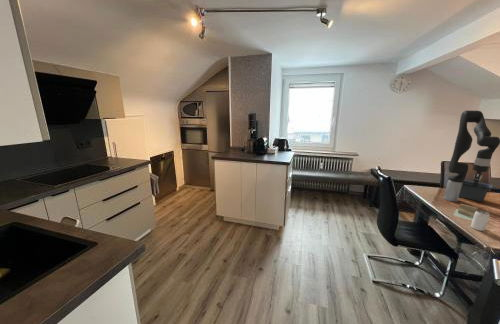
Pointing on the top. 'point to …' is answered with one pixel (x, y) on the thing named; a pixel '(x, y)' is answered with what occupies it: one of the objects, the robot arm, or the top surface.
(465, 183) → the storage bin
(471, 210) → the tile
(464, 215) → the mat
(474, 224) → the can
